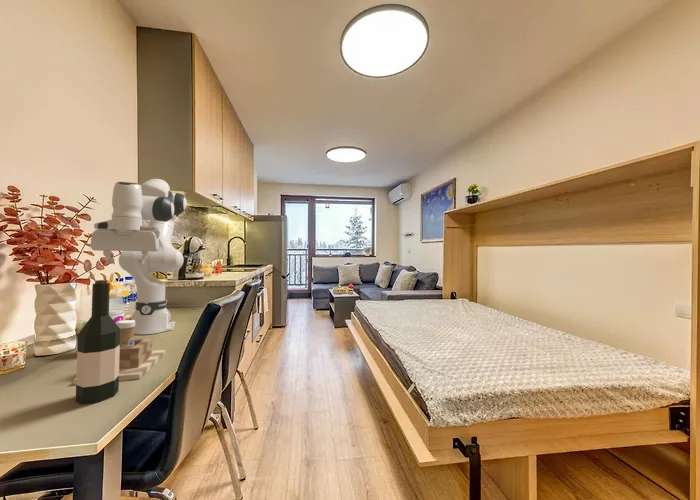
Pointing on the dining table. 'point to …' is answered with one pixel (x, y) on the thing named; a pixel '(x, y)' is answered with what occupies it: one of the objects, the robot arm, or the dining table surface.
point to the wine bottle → (98, 351)
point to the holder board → (138, 370)
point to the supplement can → (116, 315)
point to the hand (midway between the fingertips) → (125, 263)
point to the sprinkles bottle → (126, 333)
